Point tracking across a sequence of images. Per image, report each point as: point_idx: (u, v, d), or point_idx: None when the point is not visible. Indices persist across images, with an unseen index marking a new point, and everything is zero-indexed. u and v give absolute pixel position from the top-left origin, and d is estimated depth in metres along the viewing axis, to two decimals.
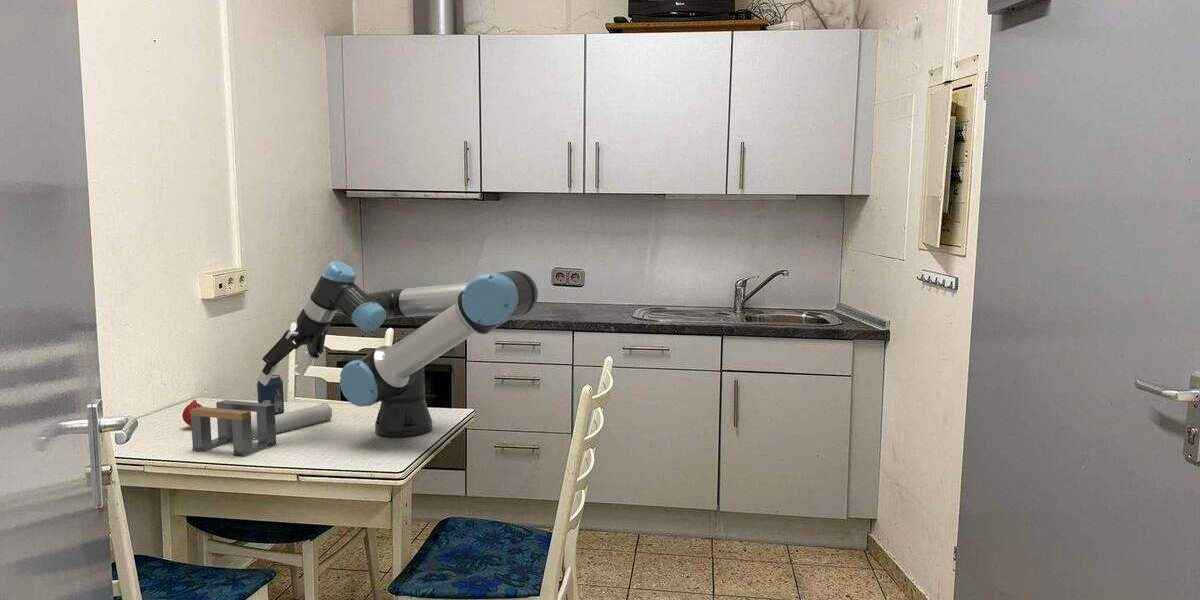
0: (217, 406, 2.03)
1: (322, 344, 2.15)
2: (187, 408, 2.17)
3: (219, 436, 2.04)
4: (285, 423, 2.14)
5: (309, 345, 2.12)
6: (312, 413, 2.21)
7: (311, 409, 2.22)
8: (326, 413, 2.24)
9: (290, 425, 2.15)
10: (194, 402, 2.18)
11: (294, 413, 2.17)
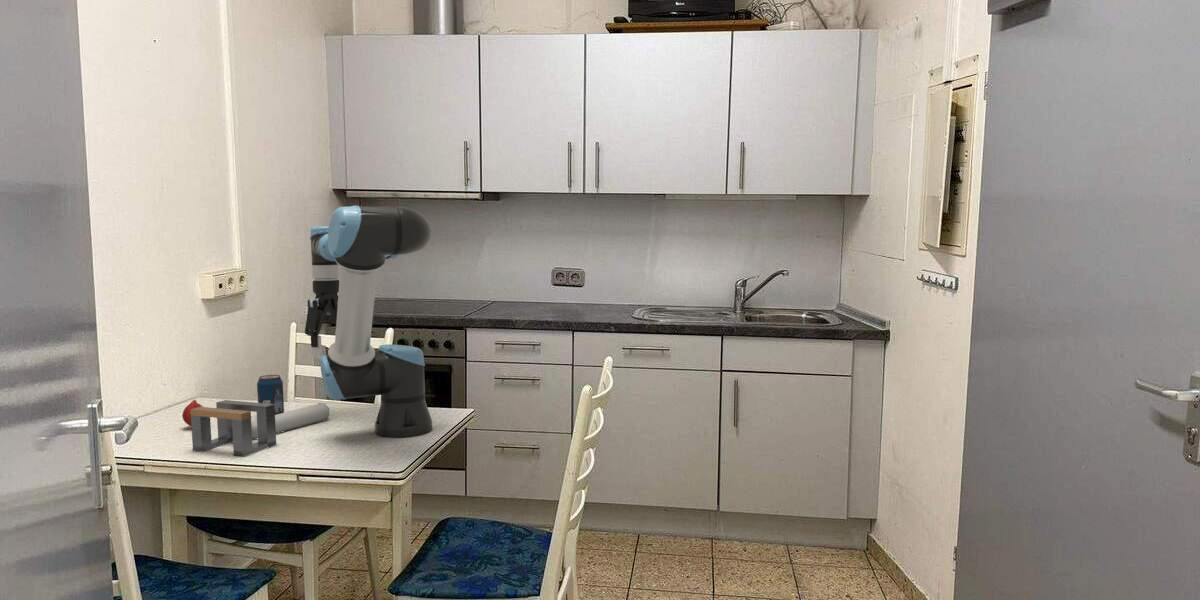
0: (217, 406, 2.03)
1: None
2: (187, 408, 2.17)
3: (219, 436, 2.04)
4: (285, 422, 2.14)
5: (335, 317, 2.34)
6: (311, 413, 2.21)
7: (309, 409, 2.22)
8: (324, 412, 2.25)
9: (290, 425, 2.15)
10: (194, 402, 2.18)
11: (293, 413, 2.18)
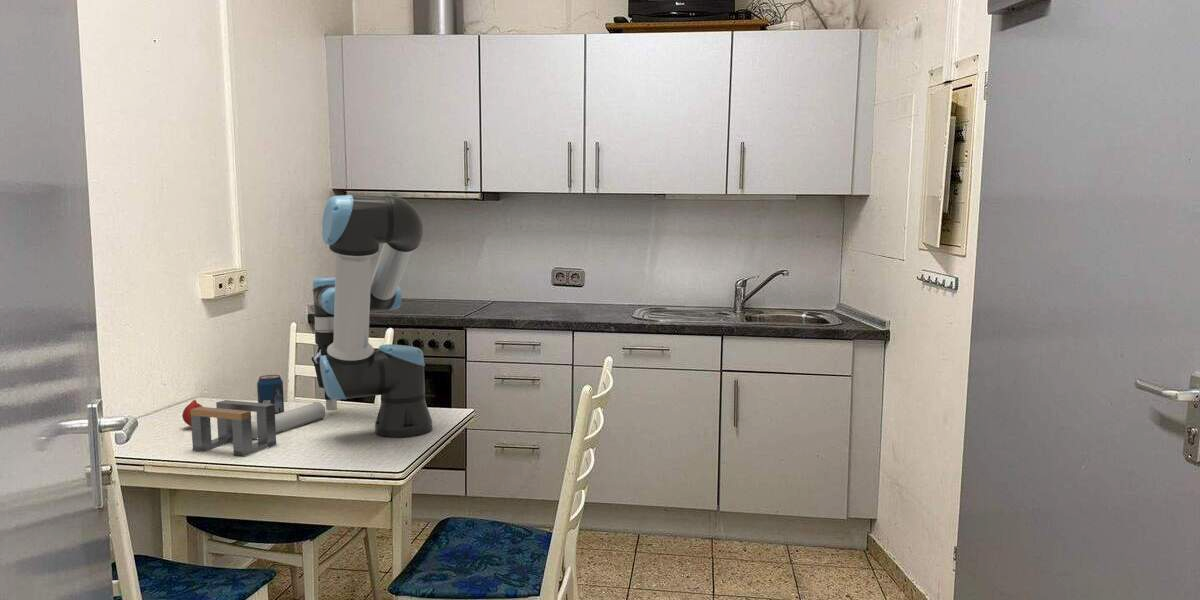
0: (217, 406, 2.03)
1: None
2: (187, 408, 2.17)
3: (219, 436, 2.04)
4: (285, 422, 2.15)
5: None
6: (308, 412, 2.22)
7: (306, 408, 2.23)
8: (320, 411, 2.26)
9: (289, 424, 2.16)
10: (194, 402, 2.18)
11: (292, 412, 2.18)
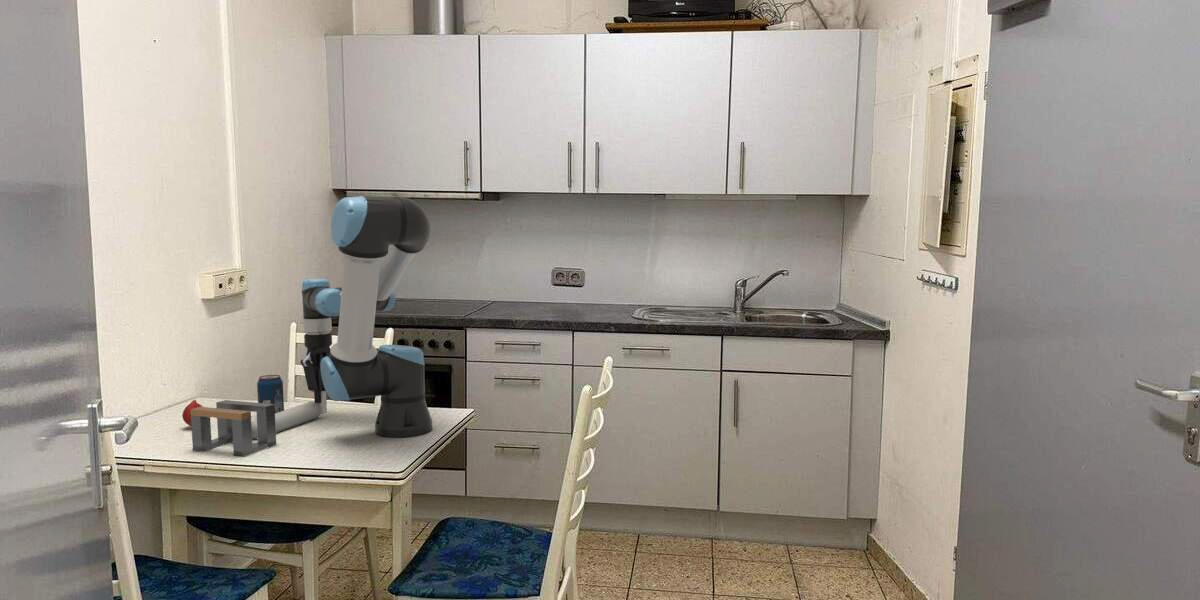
0: (217, 406, 2.03)
1: None
2: (187, 408, 2.17)
3: (219, 436, 2.04)
4: (284, 421, 2.15)
5: None
6: (305, 411, 2.23)
7: (303, 407, 2.23)
8: (316, 410, 2.27)
9: (288, 423, 2.16)
10: (194, 402, 2.18)
11: (289, 412, 2.18)
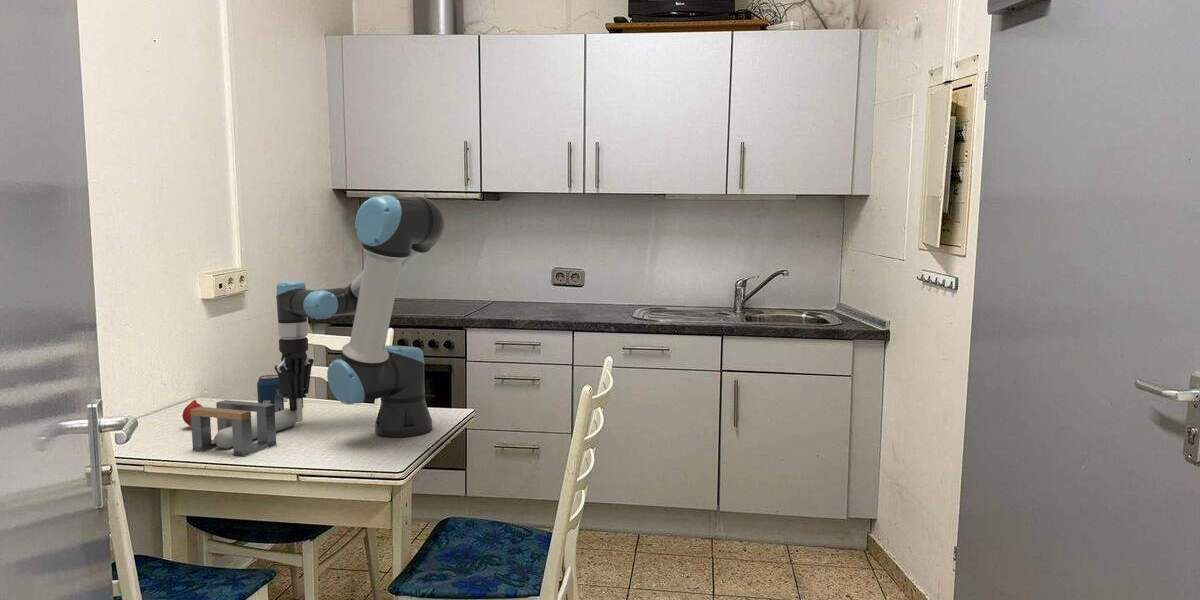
0: (217, 406, 2.03)
1: (308, 379, 2.22)
2: (187, 408, 2.17)
3: None
4: (256, 430, 2.06)
5: (297, 379, 2.20)
6: (279, 419, 2.13)
7: (277, 415, 2.14)
8: (292, 418, 2.18)
9: None
10: (194, 402, 2.18)
11: None
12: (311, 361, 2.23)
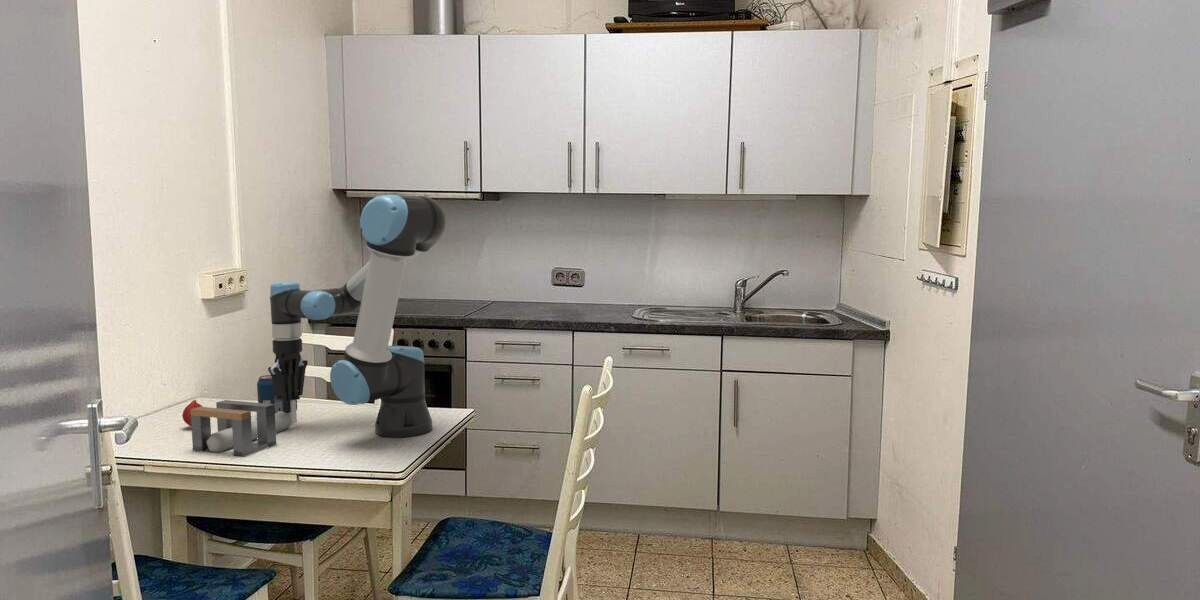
0: (217, 406, 2.03)
1: (302, 381, 2.20)
2: (187, 408, 2.17)
3: None
4: None
5: (291, 380, 2.17)
6: None
7: None
8: (285, 421, 2.15)
9: (253, 435, 2.05)
10: (194, 402, 2.18)
11: (255, 423, 2.07)
12: (305, 362, 2.21)
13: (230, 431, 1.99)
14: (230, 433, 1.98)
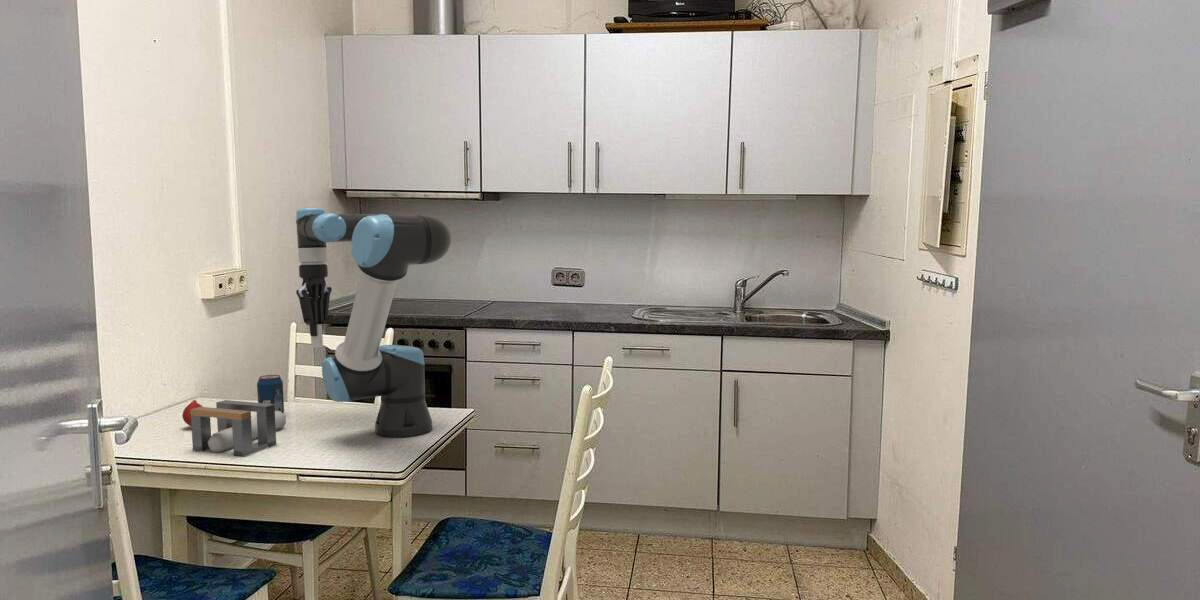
0: (217, 406, 2.03)
1: (327, 307, 2.26)
2: (187, 408, 2.17)
3: None
4: None
5: (317, 305, 2.23)
6: None
7: None
8: (281, 420, 2.16)
9: (252, 435, 2.05)
10: (194, 402, 2.18)
11: (253, 422, 2.07)
12: (329, 289, 2.27)
13: (231, 431, 1.99)
14: (231, 433, 1.99)
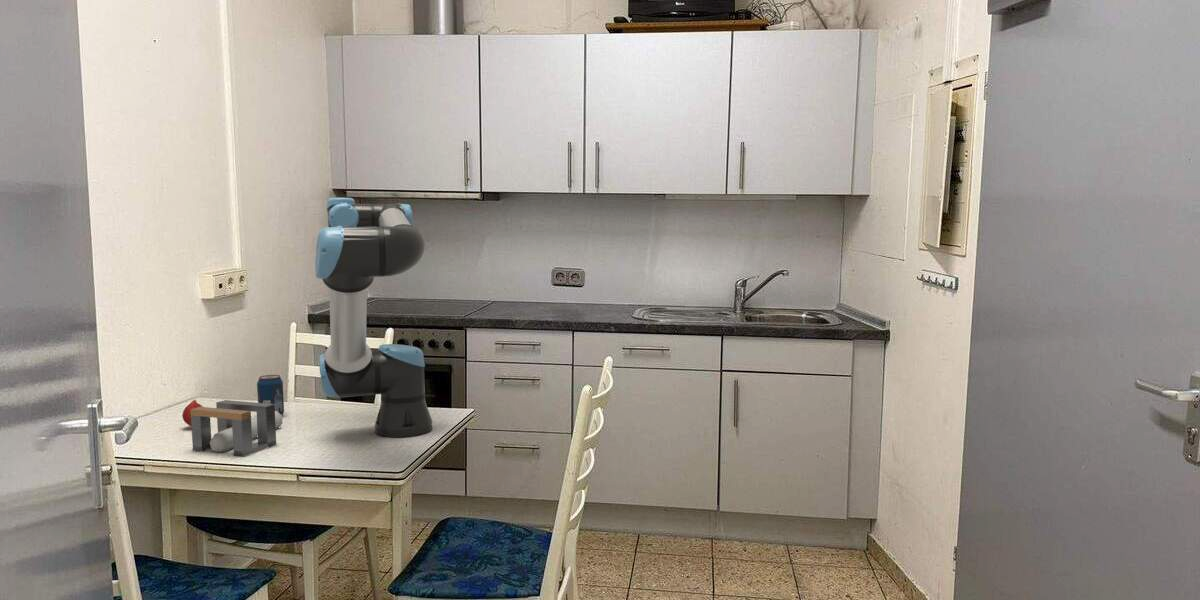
0: (217, 406, 2.03)
1: None
2: (187, 408, 2.17)
3: None
4: None
5: None
6: None
7: None
8: (278, 420, 2.17)
9: (252, 435, 2.05)
10: (194, 402, 2.18)
11: (252, 422, 2.07)
12: None
13: (232, 431, 1.99)
14: (232, 433, 1.99)
